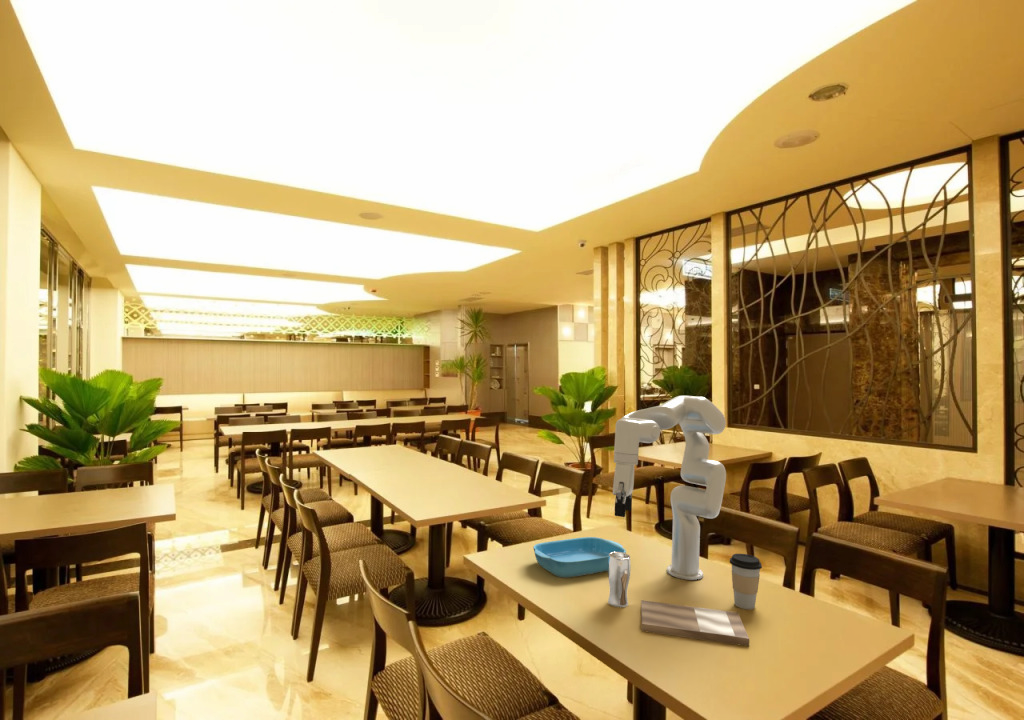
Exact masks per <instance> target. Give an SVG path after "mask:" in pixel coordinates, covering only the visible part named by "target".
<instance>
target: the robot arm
mask: <svg viewBox="0 0 1024 720" xmlns="http://www.w3.org/2000/svg"><path fill="white" fill-rule="evenodd" d="M726 424H727V423H726V417H725V415H724V414H723V412H722V411H721V410H720V408H718V407H717V406H716V405H715V404H714V403H713V402H712V401H711V400H710V399H708V398H706V397H704V396H693V395H677V396H675V397H673V398H671V399H669V400H667V401H666V402H663V403H661V404H660V405H657V406H651V407H648V408H644V409H643V408H642V409H639V410H634V411H632V412H630V413H627V414H626V415H624V416H622V417H621V418H620V419H617V421H616V423H615V431H614V432H615V433H614V449H613V450H614V452H613V463H615V467H614V476H613V485H612V495H613V496H616V497H615V502H614V516H615V517H618V518H619V517H621V518H625V517H626V513H627V512H626V511H628V512H630V511H632V500H633V499H632V498H633V497H632V496H633V495H632V493H633V492H634V486H635V485H634V483H635V482H634V481H635V466H637V465H638V464H639V451H640V449H639V447H640V443H645V444H651V443H654V442H656V441H657V440H658V439H659V437H660V435H661V430H662V431H663V430H669V429H672V428H673V427H675V426H677V425H679V427H680V428H681V431H682V433H683V436H684V441H685V447H684V452H683V458H682V461H681V468H680V477H681V479H682V480H683V481H684V482H686V483H689V484H695V485H699V486H703V487H706V488H704V489H702V488H698V487H695V486H689V485H678V486H676V487H673V489H672V490H671V492H670V504H671V513H672V532H671V533H672V535H671V536H672V539H671V564H669V565H668V566H667V567H666V572H667V573H668V574H669V575H670V576H672V577H675V578H677V579H681V580H688V581H696V580H697V579H698V580H701V579H703V578H704V572H703V570H701V569H700V545H701V544H700V542H701V541H700V540H701V538H700V537H701V525H700V522H699V520H698V517H702V518H705V519H715V518H717V517H718V516H719V514H720V511H721V508H722V503H723V498H724V493H725V487H726V481H727V471H726V468H725V466H724V464H723V463H722V462H720V461H717V460H713V459H709V455H710V454H709V453H710V443H709V441H708V439H707V437H706V436H705V434H709V435H720V434H721V433H723V432H724V431H725V429H726Z"/></svg>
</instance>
